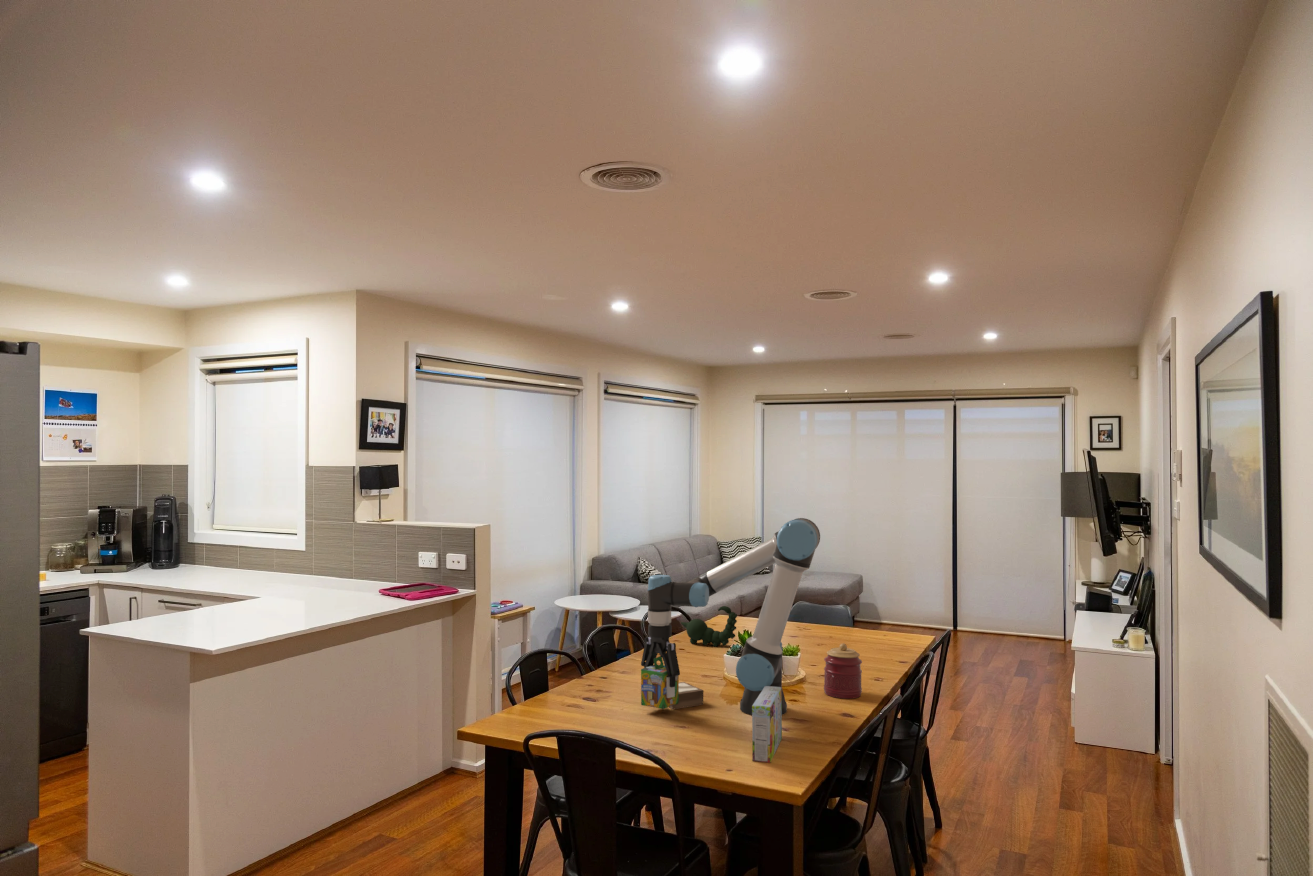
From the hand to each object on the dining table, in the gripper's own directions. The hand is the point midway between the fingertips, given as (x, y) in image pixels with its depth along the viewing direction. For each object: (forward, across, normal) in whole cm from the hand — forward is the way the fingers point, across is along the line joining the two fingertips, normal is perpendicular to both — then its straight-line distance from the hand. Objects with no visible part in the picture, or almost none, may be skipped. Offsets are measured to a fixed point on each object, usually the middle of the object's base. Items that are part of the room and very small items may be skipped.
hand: (660, 693), depth 263 cm
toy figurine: (+6, +69, -76) cm, 103 cm away
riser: (+6, +6, -12) cm, 14 cm away
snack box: (+7, -44, -4) cm, 45 cm away
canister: (+7, -17, -66) cm, 69 cm away
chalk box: (+4, 0, 0) cm, 4 cm away
